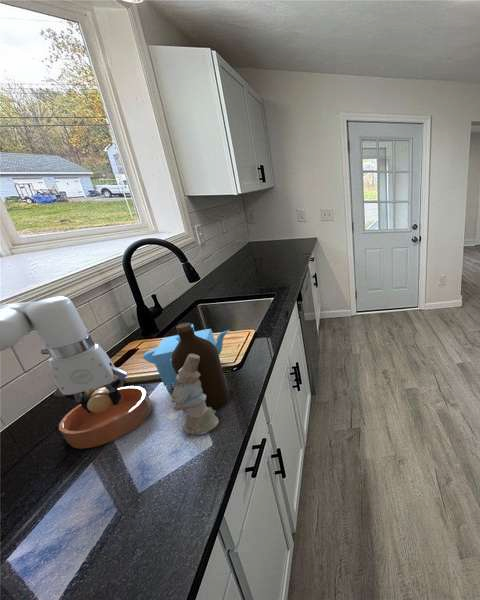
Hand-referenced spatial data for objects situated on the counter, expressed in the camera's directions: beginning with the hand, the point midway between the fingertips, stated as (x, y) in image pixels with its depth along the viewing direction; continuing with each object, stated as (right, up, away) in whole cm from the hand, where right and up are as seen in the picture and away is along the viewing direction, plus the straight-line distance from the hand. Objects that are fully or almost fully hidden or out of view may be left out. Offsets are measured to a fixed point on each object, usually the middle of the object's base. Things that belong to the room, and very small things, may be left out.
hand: (104, 405), depth 83 cm
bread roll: (-14, -1, +15) cm, 21 cm away
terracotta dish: (0, -5, +2) cm, 6 cm away
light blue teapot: (+12, +3, +21) cm, 24 cm away
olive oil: (+24, -2, +7) cm, 25 cm away
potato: (0, 0, 0) cm, 0 cm away
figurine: (+27, -5, -1) cm, 27 cm away
